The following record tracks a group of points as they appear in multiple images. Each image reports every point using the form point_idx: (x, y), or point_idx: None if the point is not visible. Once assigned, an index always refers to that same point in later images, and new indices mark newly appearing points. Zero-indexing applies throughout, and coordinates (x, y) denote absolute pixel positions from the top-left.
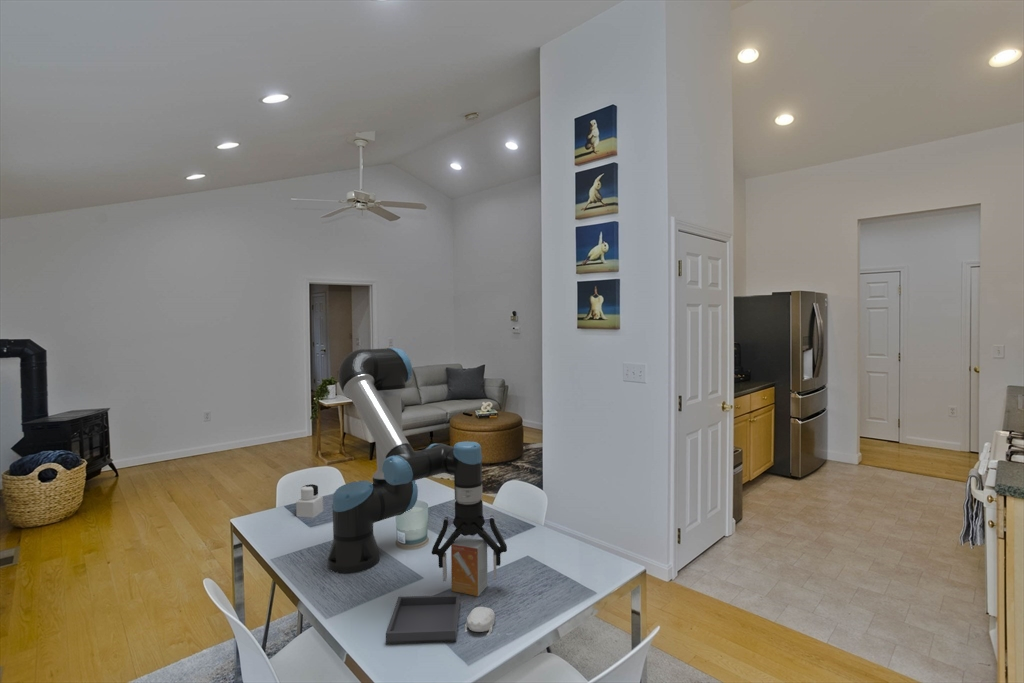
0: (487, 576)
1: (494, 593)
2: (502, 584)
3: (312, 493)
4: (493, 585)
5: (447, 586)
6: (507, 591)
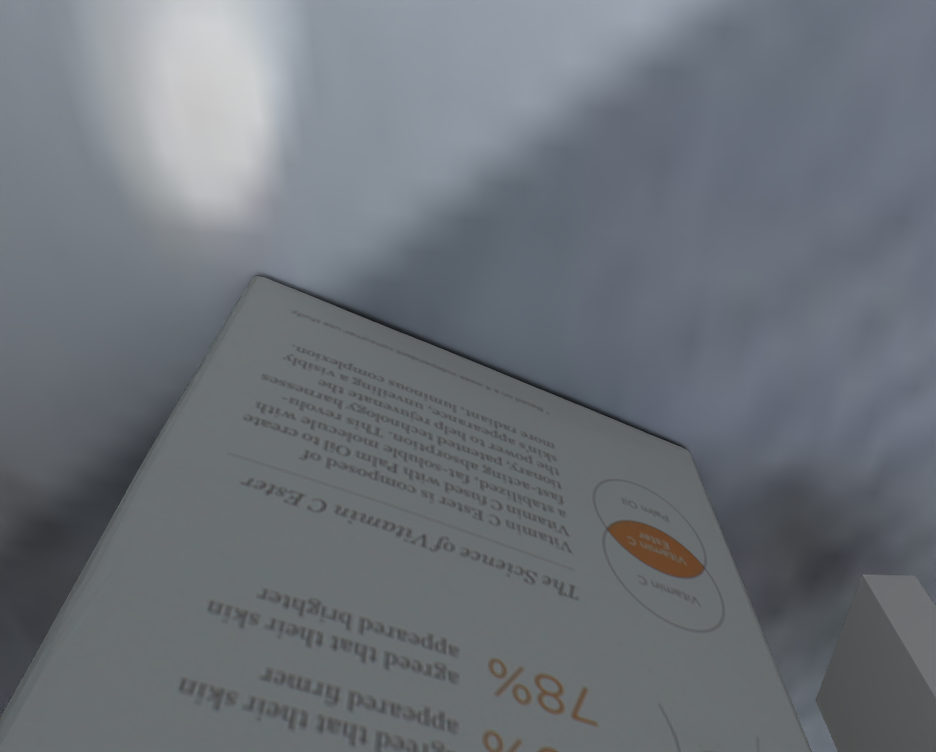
0: (732, 563)
1: None
2: (931, 428)
3: None
4: (782, 444)
5: (47, 414)
6: (932, 591)
